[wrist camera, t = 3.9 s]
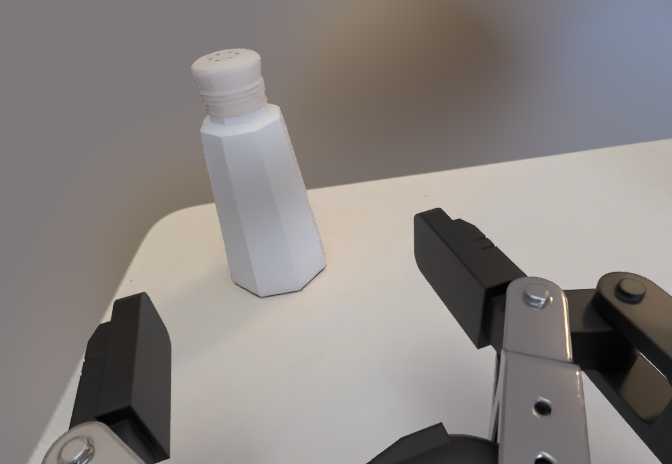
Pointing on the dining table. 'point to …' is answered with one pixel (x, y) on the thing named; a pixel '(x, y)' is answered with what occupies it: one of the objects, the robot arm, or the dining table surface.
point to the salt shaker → (255, 178)
